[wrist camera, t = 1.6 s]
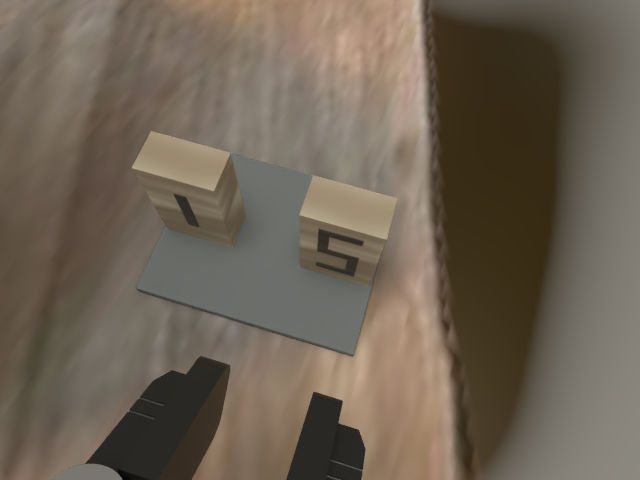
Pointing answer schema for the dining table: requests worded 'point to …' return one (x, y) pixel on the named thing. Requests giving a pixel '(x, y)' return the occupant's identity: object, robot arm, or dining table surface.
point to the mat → (260, 268)
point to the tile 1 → (192, 187)
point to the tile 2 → (343, 229)
